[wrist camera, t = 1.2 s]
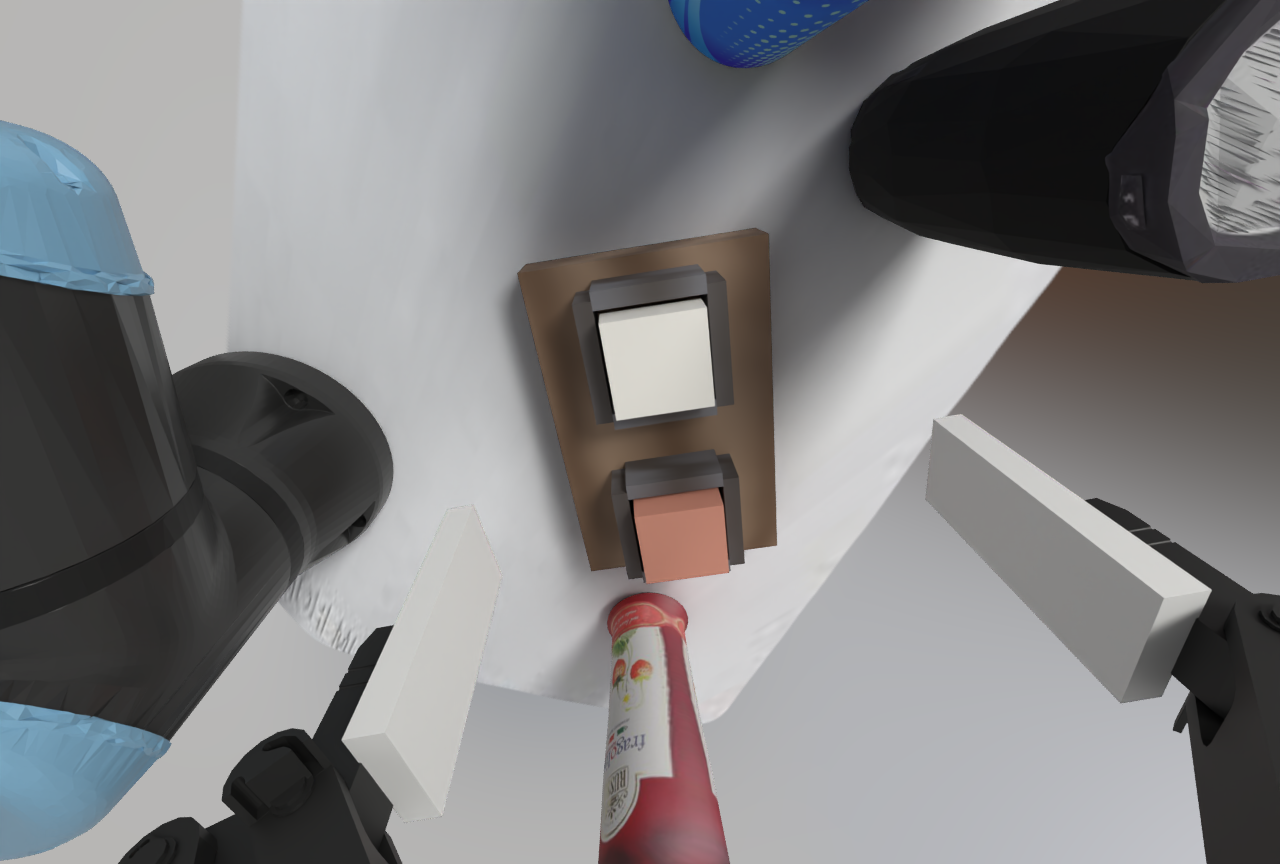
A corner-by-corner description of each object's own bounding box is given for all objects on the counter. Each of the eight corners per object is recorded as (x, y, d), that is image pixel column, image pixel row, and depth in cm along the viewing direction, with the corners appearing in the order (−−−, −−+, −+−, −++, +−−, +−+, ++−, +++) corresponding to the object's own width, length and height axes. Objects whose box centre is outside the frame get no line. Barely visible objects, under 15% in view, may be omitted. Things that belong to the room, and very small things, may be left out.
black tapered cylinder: (1008, 175, 30) (1546, 191, 13) (854, 256, 32) (1141, 368, 14) (979, 11, 26) (1678, -282, 9) (807, 113, 28) (1114, 34, 11)
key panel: (593, 545, 41) (589, 601, 36) (525, 264, 31) (507, 284, 26) (766, 520, 41) (788, 573, 35) (755, 227, 31) (784, 240, 25)
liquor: (637, 566, 42) (665, 1129, 18) (705, 602, 45) (816, 1149, 20) (588, 619, 45) (553, 1176, 20) (655, 651, 47) (697, 1189, 22)
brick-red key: (645, 563, 35) (646, 583, 33) (633, 498, 33) (634, 517, 31) (723, 552, 35) (729, 572, 33) (717, 486, 33) (723, 505, 31)
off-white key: (616, 405, 30) (616, 420, 28) (599, 313, 27) (598, 324, 25) (709, 391, 29) (715, 406, 28) (700, 298, 27) (706, 307, 25)
